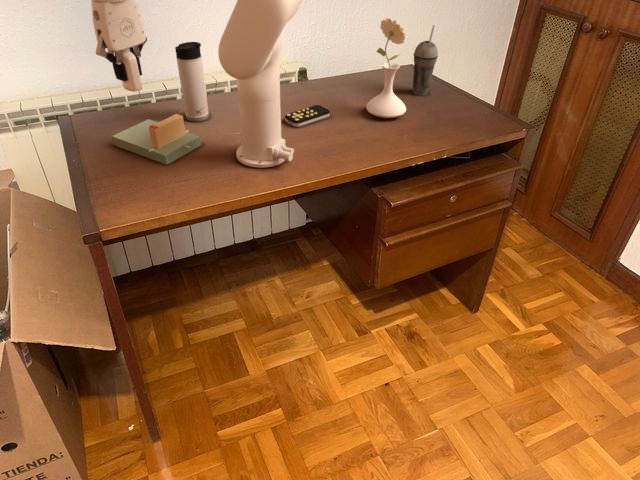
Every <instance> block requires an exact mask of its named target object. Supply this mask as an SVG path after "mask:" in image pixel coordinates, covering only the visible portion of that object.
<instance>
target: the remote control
mask: <svg viewBox="0 0 640 480" xmlns="http://www.w3.org/2000/svg"><path fill="white" fill-rule="evenodd" d="M330 115H331V111H330V110H329V108H326V107H324V106H322V105H319V104H315V105H312V106H309V107H306V108H302V109H298V110H295V111H291V112H289V113H287V114H285V115H284V121H285V122H286V123H287V124H289V125H291V126H292V127H295V128H300V127H304V126H306V125H309V124H312V123H315V122H318V121H321V120H324V119H327V118H329V117H330Z"/></svg>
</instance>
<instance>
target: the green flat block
mask: <svg viewBox="0 0 640 480" xmlns="http://www.w3.org/2000/svg"><path fill="white" fill-rule="evenodd" d="M156 123H158V121H156V120H152V119H149V118H148V119H146V120H143V121H141V122H139V123H137V124H135V125H133V126H131V127H128V128H127V129H124V130H122V131H120V132H118V133H116V134H114V135H111V138H112V142H113V144H114V146H115V147H118V148H119V149H123V150H126V151H129V152H131V153H134V154H137V155H139V156H142V157H145V158H147V159H150V160H152V161H155V162H158V163H160V164H164V165H166V166H168V165H170V164H171V163H173V162H174V161H177V160H179V159H180V158H182V157H183V156H185V155H187V154H189V153H191V152H192V151H194V150H195V149H198V148H199V147H201V146H202V137H201V135H197V134H195V133H192V132H190V129H187V130H185V133H186V135H184V136H183V137H181V138H179V139H177V140H175V141H173V142H171V143H169V144H167V145H166V146H164V147H162V148H160V149H158V148H155V147H153V146H152V142H151V137H150V132H149V126H151V125H154V124H156Z"/></svg>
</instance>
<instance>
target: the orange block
mask: <svg viewBox="0 0 640 480" xmlns="http://www.w3.org/2000/svg"><path fill="white" fill-rule="evenodd" d="M157 122H158V121H157ZM185 131H186V127H185V122H184V116H183V115H181V114H178V113H175V114H172V115H171V116H169V117H167V118H165V119H163V120H161V121H159V122H158V123H156V124H154V125H151V126H149V132H150V137H151V142H152V146H153V147H155V148H158V149H160V148H162V147H164V146H166V145H167V144H169V143H171V142H173V141H175V140H177V139H179V138H181V137H183V136H184V135H186V133H185Z"/></svg>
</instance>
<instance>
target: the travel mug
mask: <svg viewBox="0 0 640 480" xmlns="http://www.w3.org/2000/svg"><path fill="white" fill-rule="evenodd" d="M201 47H202V44H201V42H198V41H187V42H183V43H179V44H178V45H177V46H175V47H174V49H175V55H176V56H175V57H176V64H177V69H178V76H179V83H180V89H181V94H182V100H183V101H182V102H183V108H184V114H185V118H186V120H188V121H189V122H195V123H196V122H197V123H199V122H203V121H206V120H207V119H208V118H209V116H210V113H209V105H208V97H207V90H206V83H205V75H204V66H203V59H202V54H201Z"/></svg>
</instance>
